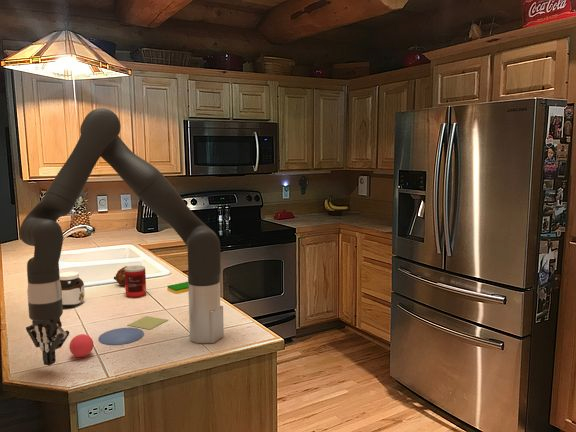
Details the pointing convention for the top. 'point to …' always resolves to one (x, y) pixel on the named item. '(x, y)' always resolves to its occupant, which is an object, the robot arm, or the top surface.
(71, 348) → the ball
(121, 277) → the brown oval piece
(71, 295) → the spread jar
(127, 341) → the disc
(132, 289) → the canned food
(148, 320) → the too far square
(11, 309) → the top surface
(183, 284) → the dish sponge
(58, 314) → the robot arm
